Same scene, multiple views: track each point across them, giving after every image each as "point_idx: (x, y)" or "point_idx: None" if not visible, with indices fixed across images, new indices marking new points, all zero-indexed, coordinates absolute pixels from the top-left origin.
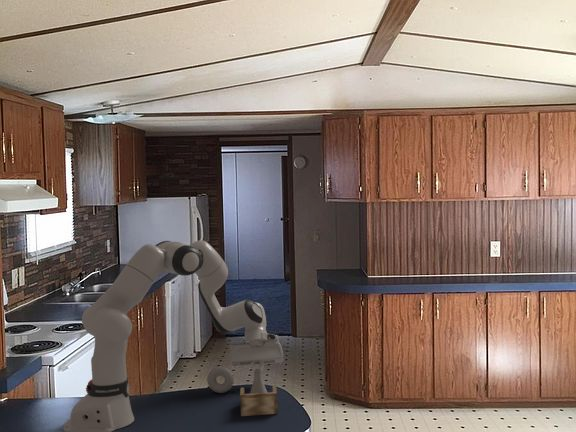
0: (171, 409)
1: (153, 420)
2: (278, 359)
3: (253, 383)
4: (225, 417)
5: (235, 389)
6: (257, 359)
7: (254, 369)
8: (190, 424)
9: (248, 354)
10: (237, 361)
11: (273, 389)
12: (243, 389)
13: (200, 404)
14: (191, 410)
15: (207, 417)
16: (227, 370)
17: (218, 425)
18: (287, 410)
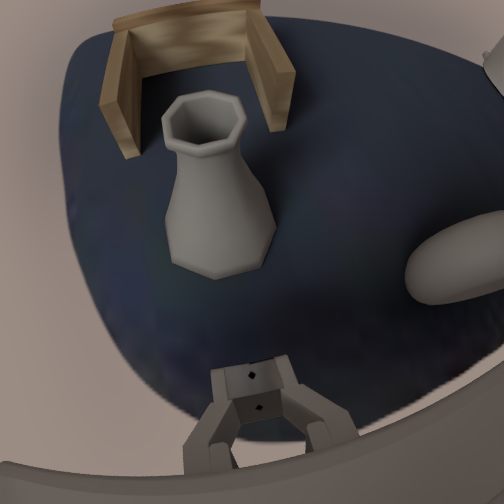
0: (484, 128)
1: (466, 77)
2: (31, 468)
3: (243, 160)
4: (302, 50)
5: (387, 345)
6: (270, 466)
7: (237, 126)
8: (375, 38)
9: (428, 494)
10: (489, 371)
11: (119, 64)
12: (271, 54)
13: (442, 150)
14: (434, 108)
15: (357, 58)
16: (482, 224)
17: (300, 23)
18: (98, 98)
